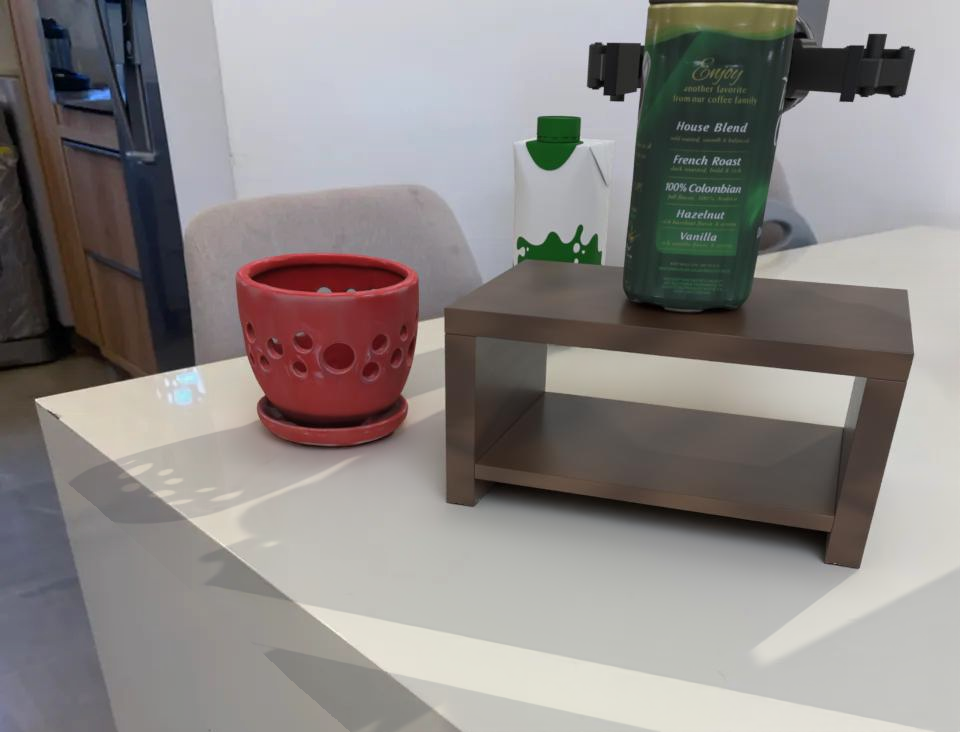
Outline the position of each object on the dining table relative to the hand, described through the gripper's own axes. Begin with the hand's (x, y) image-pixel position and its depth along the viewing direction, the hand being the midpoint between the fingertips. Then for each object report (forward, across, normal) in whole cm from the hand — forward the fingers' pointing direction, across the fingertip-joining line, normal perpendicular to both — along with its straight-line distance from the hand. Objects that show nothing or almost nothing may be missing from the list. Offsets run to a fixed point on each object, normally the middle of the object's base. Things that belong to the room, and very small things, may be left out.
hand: (727, 71), depth 54 cm
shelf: (+3, 0, -24) cm, 25 cm away
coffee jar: (+3, 0, -12) cm, 13 cm away
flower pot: (+1, +26, -25) cm, 36 cm away
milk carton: (-33, +18, -25) cm, 45 cm away
